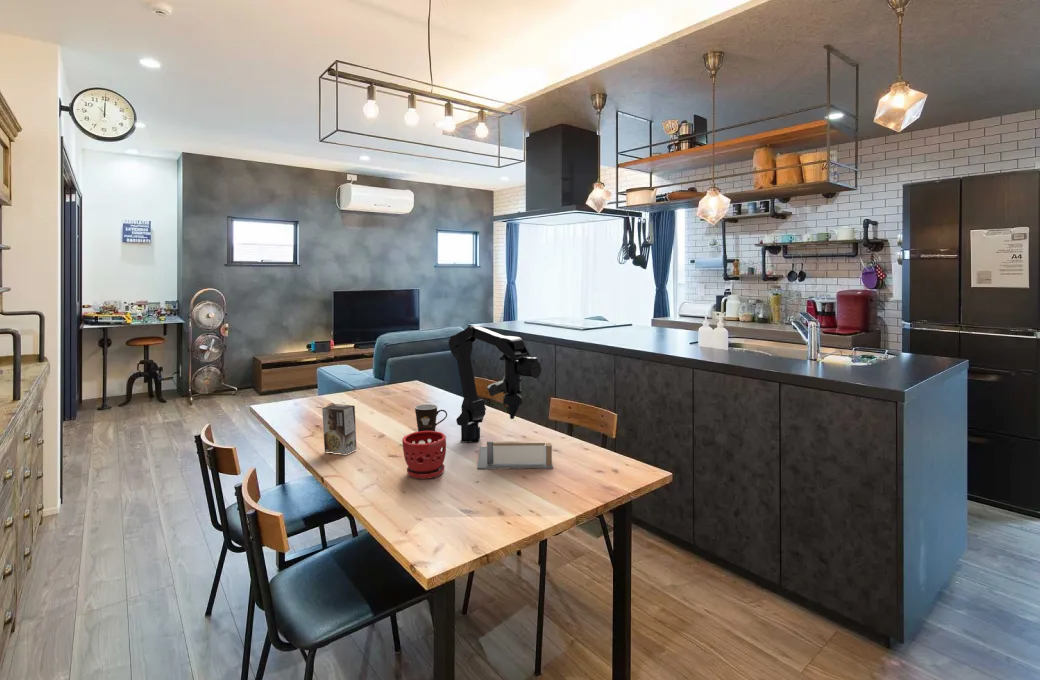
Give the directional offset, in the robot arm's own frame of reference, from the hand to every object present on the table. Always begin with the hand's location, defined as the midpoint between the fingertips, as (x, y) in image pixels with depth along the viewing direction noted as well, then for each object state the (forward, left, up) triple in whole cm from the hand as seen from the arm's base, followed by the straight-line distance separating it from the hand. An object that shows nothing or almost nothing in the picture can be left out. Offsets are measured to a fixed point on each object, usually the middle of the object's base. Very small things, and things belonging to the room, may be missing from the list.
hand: (512, 418), depth 191 cm
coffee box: (-59, +1, -12) cm, 60 cm away
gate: (+1, -15, -11) cm, 18 cm away
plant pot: (-27, -21, -12) cm, 36 cm away
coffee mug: (-31, +23, -12) cm, 41 cm away
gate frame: (+1, -7, -12) cm, 13 cm away
